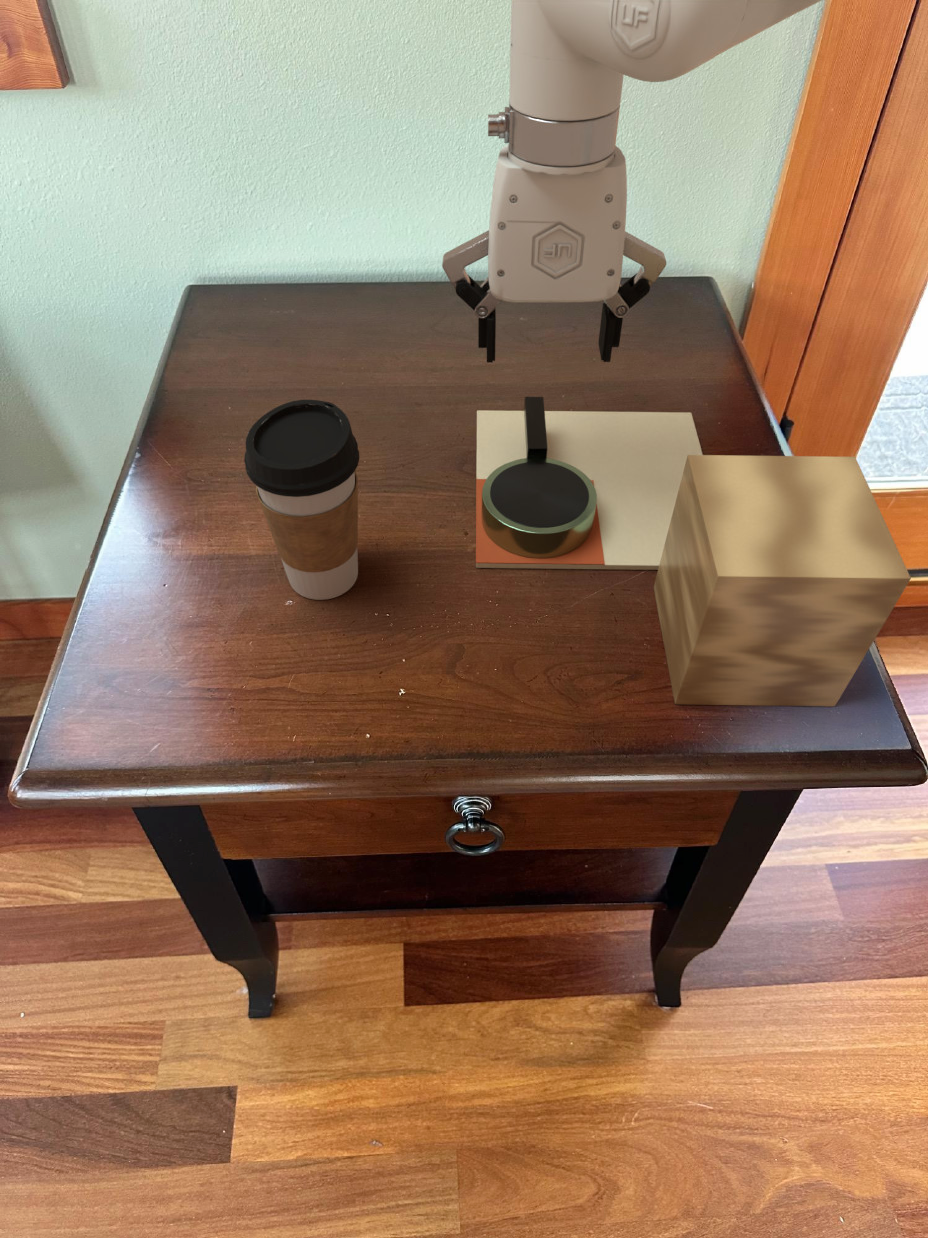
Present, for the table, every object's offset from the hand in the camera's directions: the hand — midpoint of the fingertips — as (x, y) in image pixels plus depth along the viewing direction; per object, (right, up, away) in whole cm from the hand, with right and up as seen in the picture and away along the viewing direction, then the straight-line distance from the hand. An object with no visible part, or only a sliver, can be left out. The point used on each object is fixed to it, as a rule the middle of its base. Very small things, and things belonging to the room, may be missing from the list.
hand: (547, 353), depth 71 cm
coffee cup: (-19, -19, +1) cm, 27 cm away
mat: (+5, -10, +8) cm, 14 cm away
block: (+15, -24, -4) cm, 29 cm away
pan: (0, -11, +7) cm, 12 cm away
